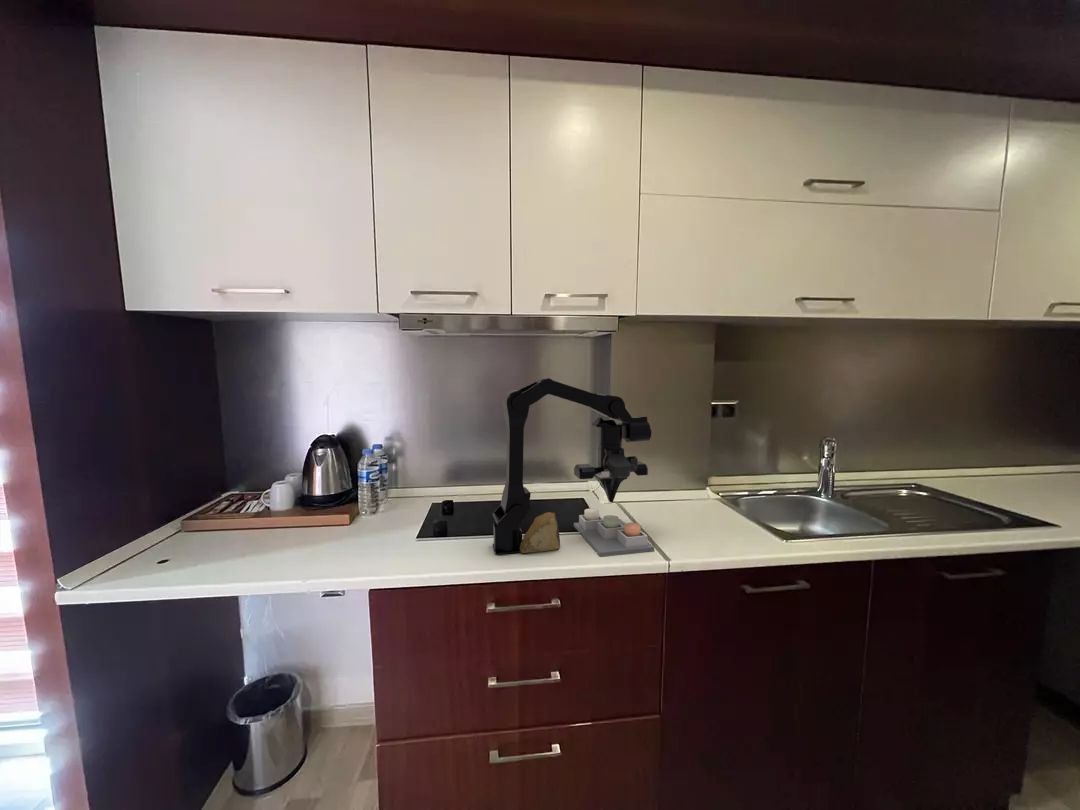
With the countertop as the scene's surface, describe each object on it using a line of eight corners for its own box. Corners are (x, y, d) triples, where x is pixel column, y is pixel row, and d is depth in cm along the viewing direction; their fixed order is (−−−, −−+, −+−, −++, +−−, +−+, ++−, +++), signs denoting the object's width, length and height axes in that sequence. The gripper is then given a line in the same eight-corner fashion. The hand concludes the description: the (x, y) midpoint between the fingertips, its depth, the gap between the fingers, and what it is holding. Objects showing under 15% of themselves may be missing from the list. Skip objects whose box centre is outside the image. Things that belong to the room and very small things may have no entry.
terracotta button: (628, 540, 112) (628, 528, 112) (621, 534, 116) (621, 523, 116) (643, 539, 113) (643, 527, 113) (636, 533, 117) (636, 522, 116)
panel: (600, 556, 109) (600, 542, 108) (573, 526, 130) (573, 514, 130) (654, 551, 111) (654, 537, 111) (619, 522, 133) (619, 510, 133)
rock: (514, 548, 107) (556, 545, 106) (515, 513, 112) (555, 510, 111) (524, 560, 116) (562, 557, 115) (524, 527, 121) (561, 524, 120)
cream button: (587, 524, 124) (587, 513, 124) (582, 519, 128) (582, 509, 128) (600, 522, 125) (600, 512, 125) (596, 518, 129) (596, 507, 129)
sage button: (606, 531, 118) (606, 520, 118) (601, 526, 122) (601, 515, 122) (620, 530, 119) (620, 519, 119) (615, 525, 123) (615, 514, 123)
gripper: (586, 450, 109) (586, 513, 110) (658, 446, 113) (657, 508, 114) (573, 443, 120) (573, 501, 121) (639, 440, 124) (638, 496, 125)
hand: (610, 501), depth 120 cm, fingers closed
